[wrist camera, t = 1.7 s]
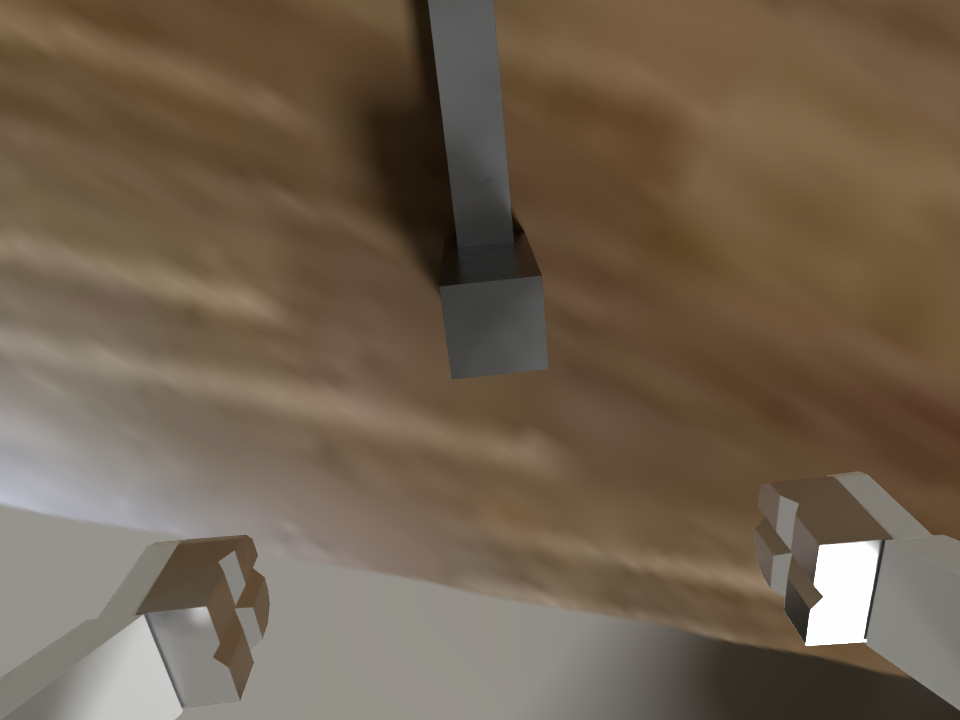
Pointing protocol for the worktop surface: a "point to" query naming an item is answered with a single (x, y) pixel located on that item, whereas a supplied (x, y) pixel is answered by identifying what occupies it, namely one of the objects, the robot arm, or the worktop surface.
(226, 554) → the robot arm
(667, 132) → the worktop surface
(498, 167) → the hook tool
